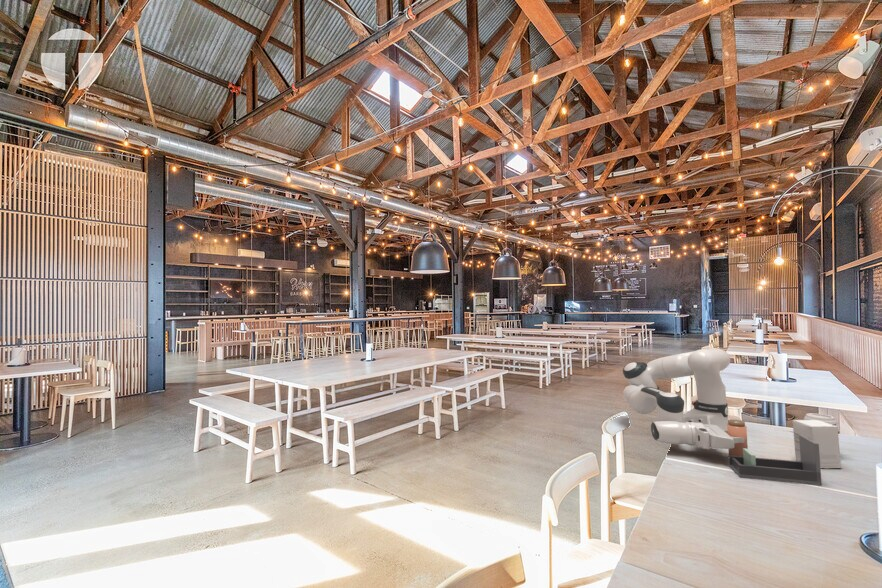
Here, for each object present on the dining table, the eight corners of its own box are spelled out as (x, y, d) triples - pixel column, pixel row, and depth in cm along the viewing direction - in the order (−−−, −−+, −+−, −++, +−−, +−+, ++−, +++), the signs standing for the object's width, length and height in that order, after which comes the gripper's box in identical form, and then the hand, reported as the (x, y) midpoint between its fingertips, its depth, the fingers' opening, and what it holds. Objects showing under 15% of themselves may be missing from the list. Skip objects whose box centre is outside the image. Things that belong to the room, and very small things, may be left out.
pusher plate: (752, 473, 134) (751, 455, 135) (743, 465, 141) (742, 448, 142) (756, 473, 134) (755, 455, 134) (747, 465, 141) (746, 448, 141)
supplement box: (820, 460, 149) (817, 419, 149) (842, 469, 140) (839, 426, 141) (794, 459, 149) (791, 419, 150) (814, 468, 141) (811, 425, 141)
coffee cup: (847, 459, 149) (844, 418, 150) (821, 459, 149) (818, 419, 150) (823, 450, 158) (821, 412, 159) (799, 450, 159) (796, 412, 159)
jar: (726, 457, 152) (724, 420, 153) (732, 454, 156) (730, 418, 157) (745, 462, 148) (742, 424, 148) (750, 458, 151) (748, 421, 152)
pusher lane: (739, 477, 135) (737, 438, 135) (729, 466, 144) (727, 430, 145) (821, 485, 127) (818, 444, 128) (805, 473, 137) (802, 435, 137)
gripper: (691, 434, 166) (730, 437, 162) (706, 450, 147) (751, 454, 142) (691, 419, 167) (730, 421, 162) (705, 433, 147) (749, 436, 143)
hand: (740, 437), depth 152 cm, fingers closed on jar, 6 cm apart
